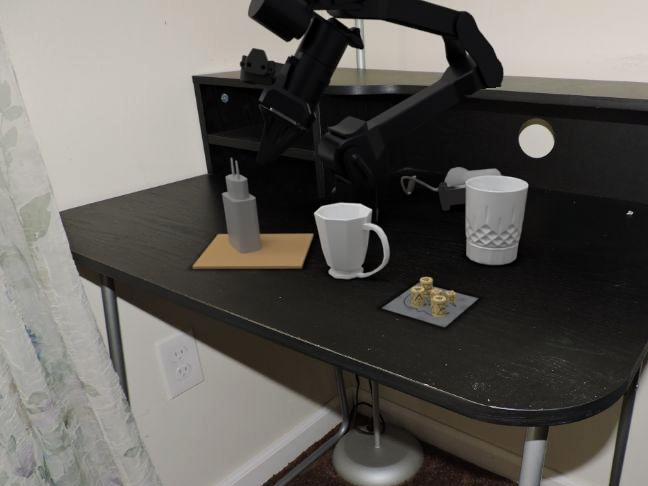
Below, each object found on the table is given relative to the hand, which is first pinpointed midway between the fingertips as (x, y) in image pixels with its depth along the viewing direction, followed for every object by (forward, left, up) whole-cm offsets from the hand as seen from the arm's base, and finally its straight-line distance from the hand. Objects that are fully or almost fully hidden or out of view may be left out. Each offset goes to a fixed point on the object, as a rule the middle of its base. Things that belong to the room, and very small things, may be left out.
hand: (264, 162), depth 81 cm
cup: (-14, +16, -11) cm, 24 cm away
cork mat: (0, +8, -10) cm, 13 cm away
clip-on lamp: (-28, -16, -11) cm, 33 cm away
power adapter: (+2, +7, -10) cm, 13 cm away
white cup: (-32, +10, -11) cm, 35 cm away
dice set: (-23, +24, -11) cm, 35 cm away
